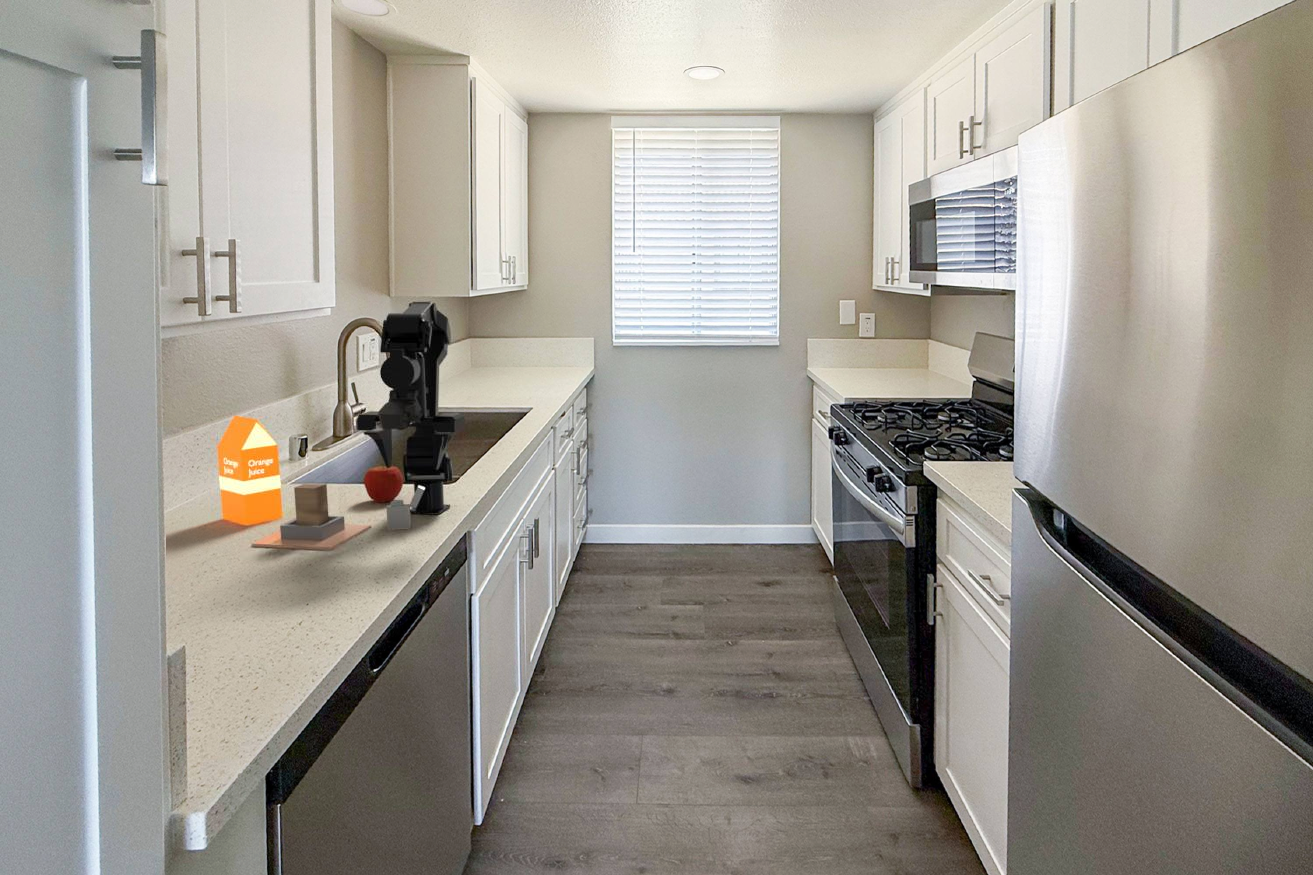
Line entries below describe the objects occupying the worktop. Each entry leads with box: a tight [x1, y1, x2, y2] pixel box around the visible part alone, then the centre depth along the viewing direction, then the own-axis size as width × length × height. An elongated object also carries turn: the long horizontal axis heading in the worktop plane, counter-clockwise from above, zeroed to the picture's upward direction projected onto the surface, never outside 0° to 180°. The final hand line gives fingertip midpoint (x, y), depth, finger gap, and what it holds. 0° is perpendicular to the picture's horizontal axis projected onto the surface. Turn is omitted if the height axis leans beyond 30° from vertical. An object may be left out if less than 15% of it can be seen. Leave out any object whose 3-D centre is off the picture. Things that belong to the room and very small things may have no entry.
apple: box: [363, 464, 404, 503], centre depth 198 cm, size 8×8×8 cm
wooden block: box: [293, 482, 330, 526], centre depth 170 cm, size 4×4×9 cm
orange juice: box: [216, 415, 283, 526], centre depth 183 cm, size 8×9×20 cm
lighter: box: [385, 485, 425, 530], centre depth 176 cm, size 7×2×8 cm, turn 99°
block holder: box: [251, 515, 372, 551], centre depth 170 cm, size 15×15×3 cm
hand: (412, 468), depth 172 cm, fingers open, 9 cm apart
